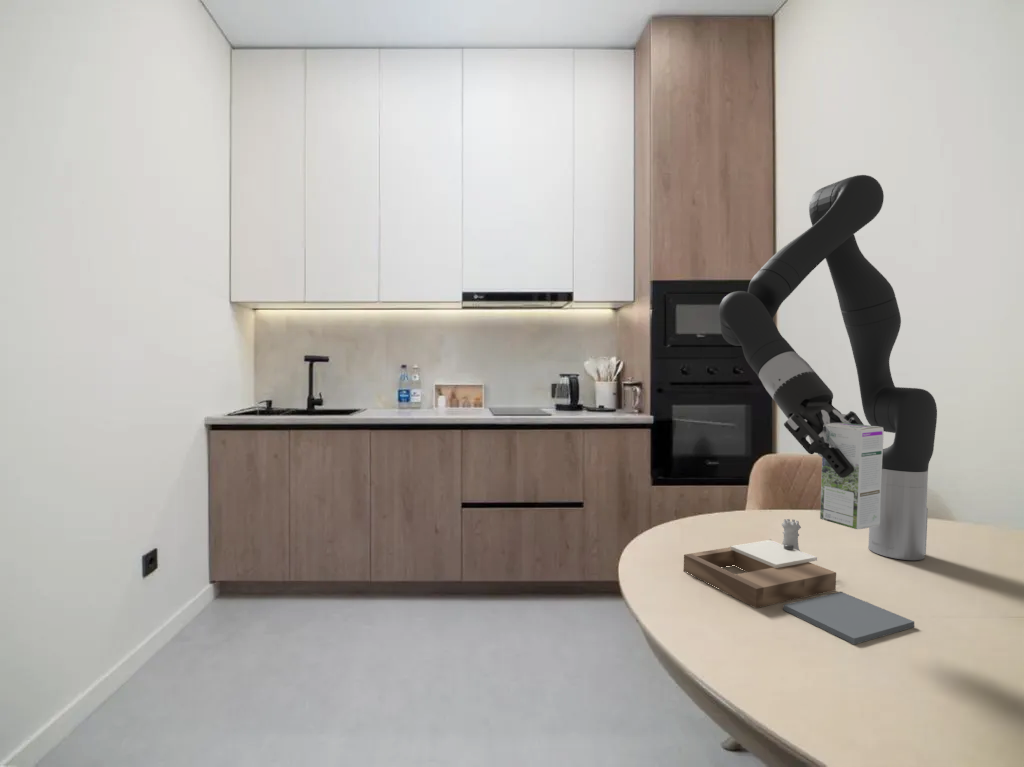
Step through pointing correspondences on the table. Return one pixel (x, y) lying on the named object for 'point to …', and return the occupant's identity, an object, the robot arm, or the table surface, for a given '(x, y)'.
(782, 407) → the robot arm
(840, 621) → the rubber mat
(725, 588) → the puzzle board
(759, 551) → the sliding lid
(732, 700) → the table surface
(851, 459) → the syrup box
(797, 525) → the rook chess piece
